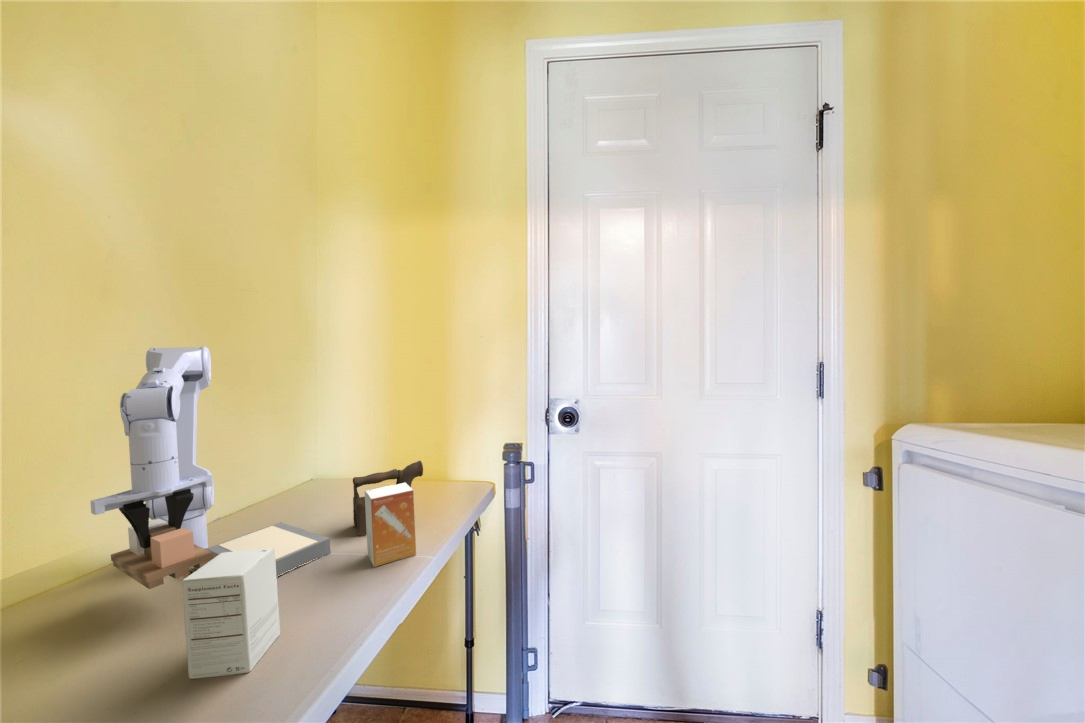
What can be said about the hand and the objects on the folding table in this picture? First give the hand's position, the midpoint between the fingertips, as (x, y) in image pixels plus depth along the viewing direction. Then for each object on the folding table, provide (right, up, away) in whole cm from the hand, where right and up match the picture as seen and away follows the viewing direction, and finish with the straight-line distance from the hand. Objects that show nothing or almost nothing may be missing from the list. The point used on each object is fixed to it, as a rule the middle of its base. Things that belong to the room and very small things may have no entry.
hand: (159, 542), depth 67 cm
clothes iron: (+27, -9, +29) cm, 40 cm away
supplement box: (+23, -10, -13) cm, 28 cm away
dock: (+8, -10, +13) cm, 19 cm away
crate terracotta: (+5, -2, -3) cm, 6 cm away
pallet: (0, -4, 0) cm, 4 cm away
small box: (+34, -9, +13) cm, 37 cm away
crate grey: (-4, -2, +3) cm, 5 cm away
